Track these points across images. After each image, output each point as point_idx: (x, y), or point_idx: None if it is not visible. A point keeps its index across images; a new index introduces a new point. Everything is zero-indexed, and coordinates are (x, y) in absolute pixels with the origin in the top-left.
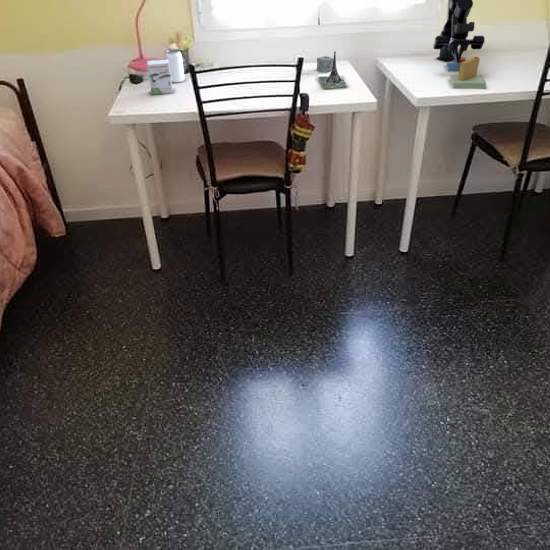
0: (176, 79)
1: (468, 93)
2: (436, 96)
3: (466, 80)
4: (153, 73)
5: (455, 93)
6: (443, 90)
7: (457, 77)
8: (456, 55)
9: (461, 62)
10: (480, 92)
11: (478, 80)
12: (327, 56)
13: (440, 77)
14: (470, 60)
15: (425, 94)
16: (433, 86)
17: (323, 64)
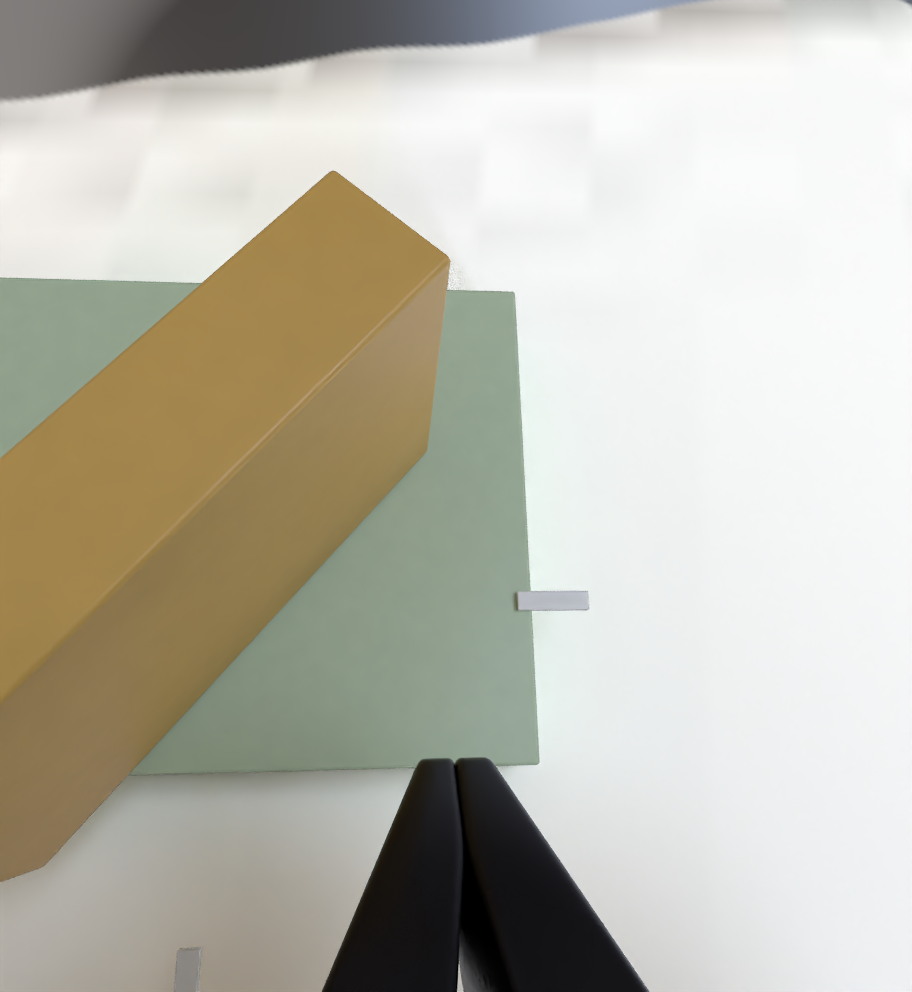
0: None
1: (310, 135)
2: (731, 48)
3: None
4: None
5: (488, 137)
6: (645, 244)
7: (417, 595)
8: (573, 916)
9: (432, 266)
10: (127, 169)
11: (41, 418)
12: None
13: (697, 938)
14: (83, 477)
15: (868, 110)
16: (793, 407)
17: None
